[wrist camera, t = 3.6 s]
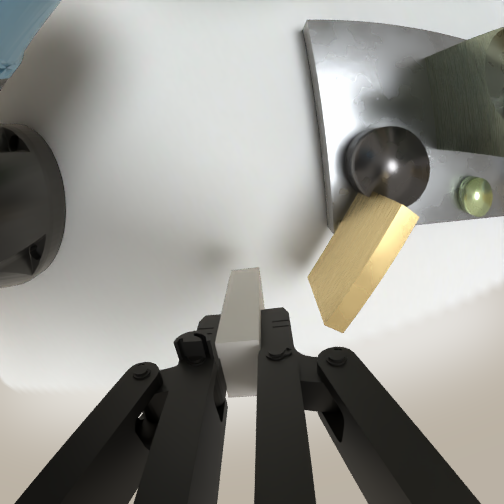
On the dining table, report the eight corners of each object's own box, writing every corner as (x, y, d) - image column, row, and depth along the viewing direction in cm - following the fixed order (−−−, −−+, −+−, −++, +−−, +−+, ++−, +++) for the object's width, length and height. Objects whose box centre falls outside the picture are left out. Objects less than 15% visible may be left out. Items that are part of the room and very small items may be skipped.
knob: (366, 113, 17) (413, 101, 11) (422, 154, 18) (480, 162, 12) (282, 262, 21) (292, 310, 14) (342, 292, 21) (369, 344, 15)
